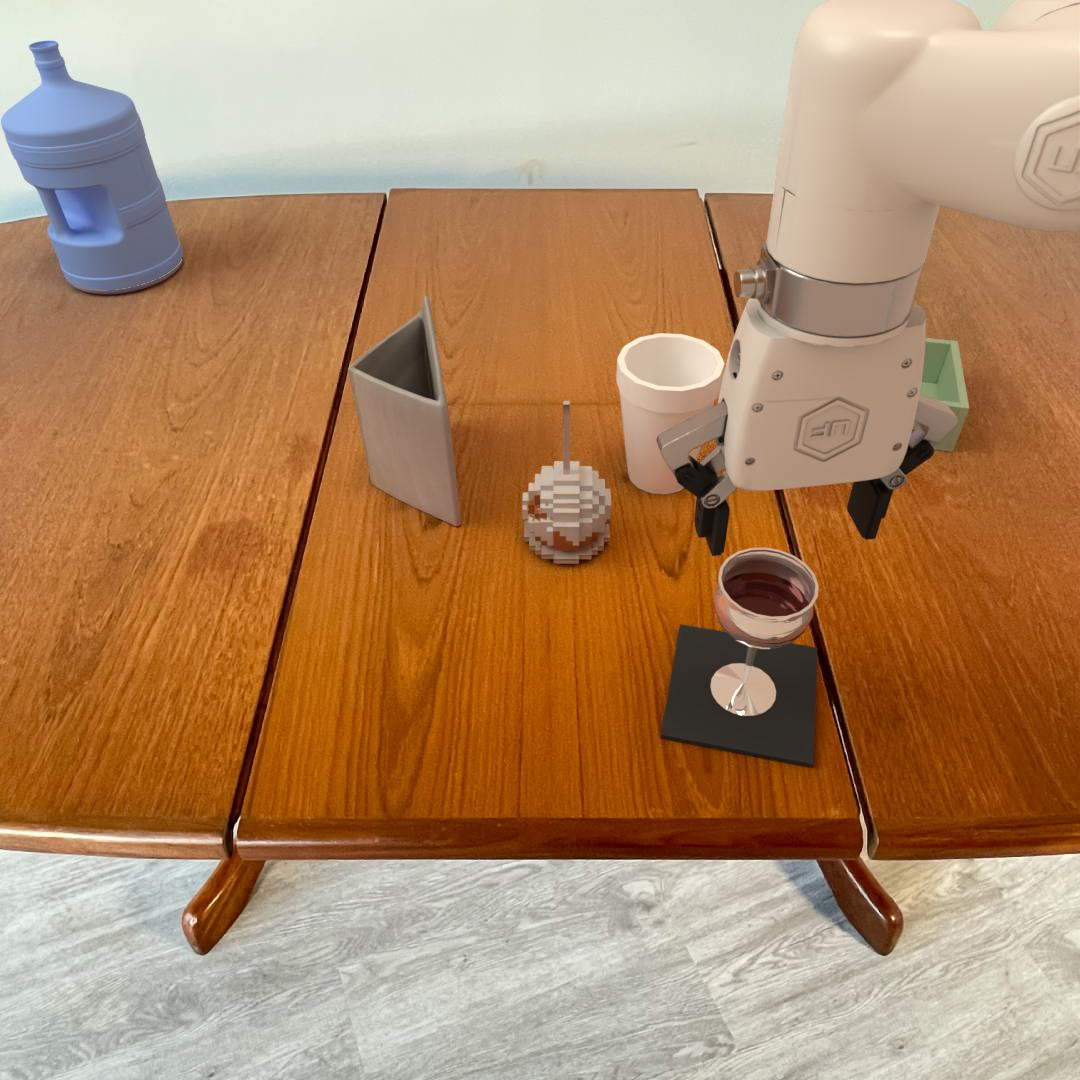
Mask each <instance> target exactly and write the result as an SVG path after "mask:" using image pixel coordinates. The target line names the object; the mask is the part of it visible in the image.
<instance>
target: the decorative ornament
mask: <svg viewBox="0 0 1080 1080" xmlns="http://www.w3.org/2000/svg"><path fill="white" fill-rule="evenodd" d="M562 455H563V456H562V458H563V459H562V460H554V462H553V465H541V469H540V473H535V474H534V482H528V486H527V487H528V489H527V490H528V491H527V492H526V491H525V492H524V491H523V492H522V499H521V501H522V502H521V503H522V507H521V508H522V509H521V512H522V513H521V514H522V520H524V526H523V542H528V543H529V544H528V548H529V551H534V554H535V555H540V556H541V558H540V559H541V560H553V564H567V565H568V564H570V565H571V564H572V565H573V564H577V565H579V564H580V560H592V556H598V553H599V552H598V551H600V552H601V551H604V549H605V543H610V541H611V539H610V538H611V536H610V535H611V534H610V525H611V521H612V519H611V518H612V493H611V490H612V489H611V488H606V479H605V478H599V476H600V475H599V470H593V466H592V465H580V464H581V463H580V460H571V400H563V401H562Z"/></svg>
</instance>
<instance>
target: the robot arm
mask: <svg viewBox="0 0 1080 1080" xmlns="http://www.w3.org/2000/svg"><path fill="white" fill-rule="evenodd" d="M787 85H788V87H787V93H786V100H785V108H784V113H783V114H784V115H783V122H782V128H781V135H780V141H779V149H778V157H777V162H776V163H777V164H776V171H775V178H774V179H775V180H774V187H773V194H772V200H771V209H770V215H769V221H768V228H767V235H766V242H765V245H761V248H760V254H759V255H760V256H759V259H758V261H757V264H756V265H751V266H749V268H746V269H736V270H735V272H734V276H733V291H734V294H735V297H736V298H738V299H739V298H748V300H747V302H746V303H745V306H744V309H743V311H742V313H741V316H740V319H739V322H738V324H737V327H736V329H735V332H734V335H733V339H732V342H731V345H730V349H729V351H728V355H727V358H726V359H727V360H726V363H725V366H724V371H723V378H722V384H721V388H720V391H719V393H718V398H717V399H718V400H717V403H716V404H714V405H713V407H711V408H709V409H707V410H705V411H703V412H701V413H699V414H697V415H695V416H693V417H691V418H689V419H687V420H685V421H683V422H681V423H679V424H677V425H676V426H674V427H672V428H670V429H668V430H666V431H664V432H662V433H660V434H659V435H658V436H657V439H656V441H657V444H658V447H659V450H660V453H661V455H662V457H663V459H664V460H665V462H666V463H667V465H668V467H669V468H670V470H671V472H673V474H674V476H675V477H676V479H677V482H678V483H679V484H680V485H681V486H683V487H684V488H683V489H685V490H686V491H688V493H689V492H690V493H691V494H692V495H694V496H695V497H696V499H695V500H696V501H695V510H694V517H693V518H694V520H693V522H694V529H695V532H696V536H697V537H698V538H699V539H700V538H705V540H706V544H707V546H708V549H709V552H710V555H711V556H712V557H718V556H722V554H724V553H725V548H726V541H727V534H728V526H729V519H730V515H731V514H730V513H731V512H730V511H731V510H730V506H729V504H728V501H727V499H728V498H729V497H731V495H733V493H735V492H736V491H737V490H738V489H740V490H744V491H748V492H767V491H768V492H769V491H779V490H790V489H798V488H809V487H818V486H828V485H836V484H837V485H839V484H845V483H846V484H847V483H852V487H851V490H850V493H849V498H848V502H847V505H846V510H847V513H848V515H849V516H850V518H851V520H852V522H853V524H854V525H855V528H856V529H857V531H858V533H859V535H860V537H861V538H862V539H864V540H866V541H867V540H868V541H869V540H875V539H876V538H877V536H878V532H879V529H880V525H881V522H882V520H884V519H885V518H886V516H887V514H888V513H887V512H888V510H889V507H890V504H891V499H892V496H893V493H894V490H899V489H901V488H902V487H903V486H905V484H906V483H907V480H908V478H907V475H908V474H910V473H911V472H912V471H914V470H916V469H917V468H918V467H920V466H921V465H922V464H924V463H926V461H928V460H929V459H931V457H933V455H934V453H935V450H934V447H935V446H936V444H938V445H939V444H940V443H941V442H942V440H943V439H944V438H945V437H946V436H947V435H948V434H949V433H950V432H951V431H952V429H953V428H954V427H955V426H956V425H957V423H958V418H957V416H956V415H955V414H954V412H953V411H952V410H951V409H950V407H949V406H948V405H947V404H944V403H942V402H939V401H937V400H934V399H932V398H929V397H927V396H924V395H922V394H920V389H921V383H922V375H923V366H924V355H925V339H926V338H927V314H926V312H925V310H924V309H923V307H922V306H921V305H920V304H918V303H917V302H916V300H915V299H916V296H917V292H918V289H919V284H920V281H921V277H922V273H923V270H924V266H925V263H926V258H927V255H928V252H929V247H930V244H931V241H932V237H933V233H934V229H935V226H936V221H937V218H938V215H939V212H940V207H944V208H949V209H952V210H954V211H955V210H956V211H959V212H963V213H967V214H970V215H973V216H975V217H979V218H983V219H986V220H990V221H993V222H996V223H999V224H1004V225H1008V226H1011V227H1016V228H1019V229H1024V230H1030V231H1036V232H1046V233H1070V232H1071V233H1072V232H1080V0H1014V2H1012V3H1011V4H1010V5H1009V6H1008V8H1007V9H1006V10H1005V11H1004V12H1003V13H1002V14H1001V15H1000V16H999V18H998V19H997V20H996V21H995V23H994V24H993V26H992V27H991V29H990V30H983V28H982V25H981V22H980V19H979V17H978V16H977V15H976V14H975V13H974V12H973V11H972V10H971V8H969V7H968V6H966V5H965V4H962V3H960V2H958V1H955V0H828V1H826V2H823V3H822V4H820V5H818V7H816V8H815V9H814V10H813V11H811V12H810V13H809V15H807V17H806V18H805V20H804V22H803V23H802V24H801V27H800V28H799V30H798V33H797V36H796V38H795V42H794V46H793V52H792V58H791V64H790V72H789V78H788V84H787ZM914 422H916V423H918V424H917V425H916V426H915V428H916V429H913V425H914ZM912 429H913V430H912ZM712 441H714V442H715V444H716V446H715V448H713V449H712V450H711V452H709V453H708V455H706V456H705V457H704V458H703V459H702V460H701V461H700V462H699V461H698V459H697V460H695V459H694V458H693V457H691V456H690V455H689V453H690V452H691V451H692V450H694V449H696V448H698V447H700V446H701V447H702V446H704V445H705V444H708V443H709V442H712ZM724 469H725V470H724ZM723 470H724V471H723ZM722 471H723V472H722ZM721 472H722V473H721ZM719 474H720V475H719ZM718 475H719V476H718Z"/></svg>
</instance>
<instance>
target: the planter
mask: <svg viewBox="0 0 1080 1080" xmlns="http://www.w3.org/2000/svg"><path fill="white" fill-rule="evenodd" d="M433 317H434V316H433V311H432V306H431V301H430V298H429V296H428V295H423V299H422V306H421V309H420V310H419V312H417V314H415V315H414V316H413V317H412V318H411V319H409V320H408V321H407V322H405V323H404V324H403V325H401V326H400V327H398V328H397V329H395V330H394V331H393V332H391V333H389V334H388V335H387V336H386V337H384V338H383V339H381V340H380V341H379V342H377V343H376V344H375V345H373V346H372V347H370V348H369V349H367V350H366V351H365V352H364V353H363V354H361V355H360V356H359V357H358V358H357V359H355V361H353V362H352V363H351V364H350V365H349V366H348V368H347V373H348V377H349V381H350V386H351V387H350V388H351V391H352V392H351V393H352V396H353V402H354V406H355V410H356V415H357V421H358V425H359V426H358V427H359V430H360V435H361V440H362V445H363V450H364V454H365V460H366V465H367V470H368V475H369V480H370V484H371V485H372V486H373V487H375V488H377V489H379V490H380V491H382V492H383V493H385V494H387V495H389V496H391V497H393V498H395V499H396V500H399V501H400V502H403V503H404V504H407V505H409V506H410V507H413V508H414V509H417V510H419V511H421V512H423V513H426V514H427V515H429V516H432V517H434V518H436V519H438V520H441V521H443V522H445V523H448V524H450V525H451V526H454V527H459V526H461V524H462V514H461V505H460V497H459V488H458V480H457V471H456V461H455V453H454V445H453V444H454V443H453V437H452V435H453V434H452V427H451V419H450V413H449V405H448V399H447V394H446V389H445V382H444V376H443V371H442V365H441V359H440V352H439V346H438V341H437V335H436V328H435V322H434V318H433Z"/></svg>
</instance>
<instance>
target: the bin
mask: <svg viewBox="0 0 1080 1080" xmlns="http://www.w3.org/2000/svg"><path fill="white" fill-rule="evenodd" d="M960 352H961V351H960V346H959V341H958V340H951V339H941V338H933V337H926V339H925V355H924V366H923V375H922V383H921V389H920V394H922V395H924V396H927V397H929V398H932V399H934V400H937V401H939V402H942V403H944V404H947V405H948V406H949V407H950V409H951V410H952V411H953V412H954V414H955V415H956V416H957V418H958V423H957V425H956V426H955V427H954V428H953V429H952V431H951V432H950V433H949V434H948V435H947V436H946V437H945V438H944V439H943V440H942V442H941V443H940V444H939V445H938V444H936V446H935V447H934V451H939V452H949V453H953V452H954V450H955V447H956V445H957V442H958V439H959V437H960V434H961V432H962V429H963V427H964V425H965V421H966V418H967V416H968V414H969V411H970V403H969V398H968V392H967V386H966V381H965V374H964V370H963V369H964V368H963V364H962V357H961V353H960ZM917 424H918V423H916V422H914V425H913V429H916V428H915V426H916V425H917ZM913 429H912V430H913Z"/></svg>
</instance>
